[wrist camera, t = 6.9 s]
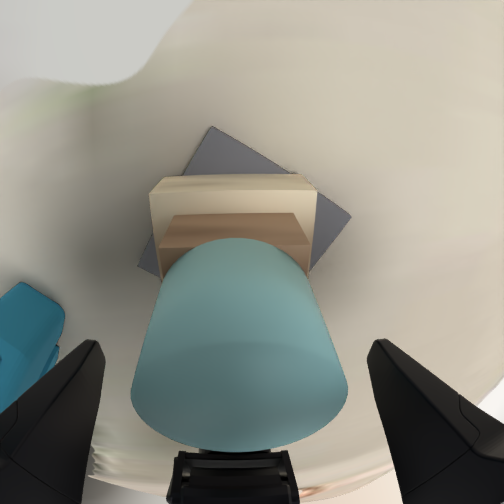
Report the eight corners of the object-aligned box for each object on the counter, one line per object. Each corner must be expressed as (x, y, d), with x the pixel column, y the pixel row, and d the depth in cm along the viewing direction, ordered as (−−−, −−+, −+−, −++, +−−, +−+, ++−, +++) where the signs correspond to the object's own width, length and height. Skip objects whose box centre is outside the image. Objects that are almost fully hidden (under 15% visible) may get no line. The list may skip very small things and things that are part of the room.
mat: (263, 319, 19) (264, 325, 19) (139, 261, 17) (137, 266, 16) (347, 213, 16) (351, 217, 16) (212, 126, 13) (211, 126, 13)
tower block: (285, 306, 14) (296, 349, 12) (186, 309, 14) (178, 352, 12) (293, 212, 12) (310, 244, 9) (174, 215, 12) (158, 248, 9)
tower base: (292, 288, 18) (302, 320, 15) (177, 291, 17) (169, 323, 15) (301, 174, 14) (317, 190, 12) (163, 177, 14) (148, 193, 11)
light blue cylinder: (313, 344, 12) (339, 435, 8) (185, 363, 12) (176, 454, 8) (305, 224, 9) (357, 316, 5) (138, 254, 9) (90, 353, 5)
